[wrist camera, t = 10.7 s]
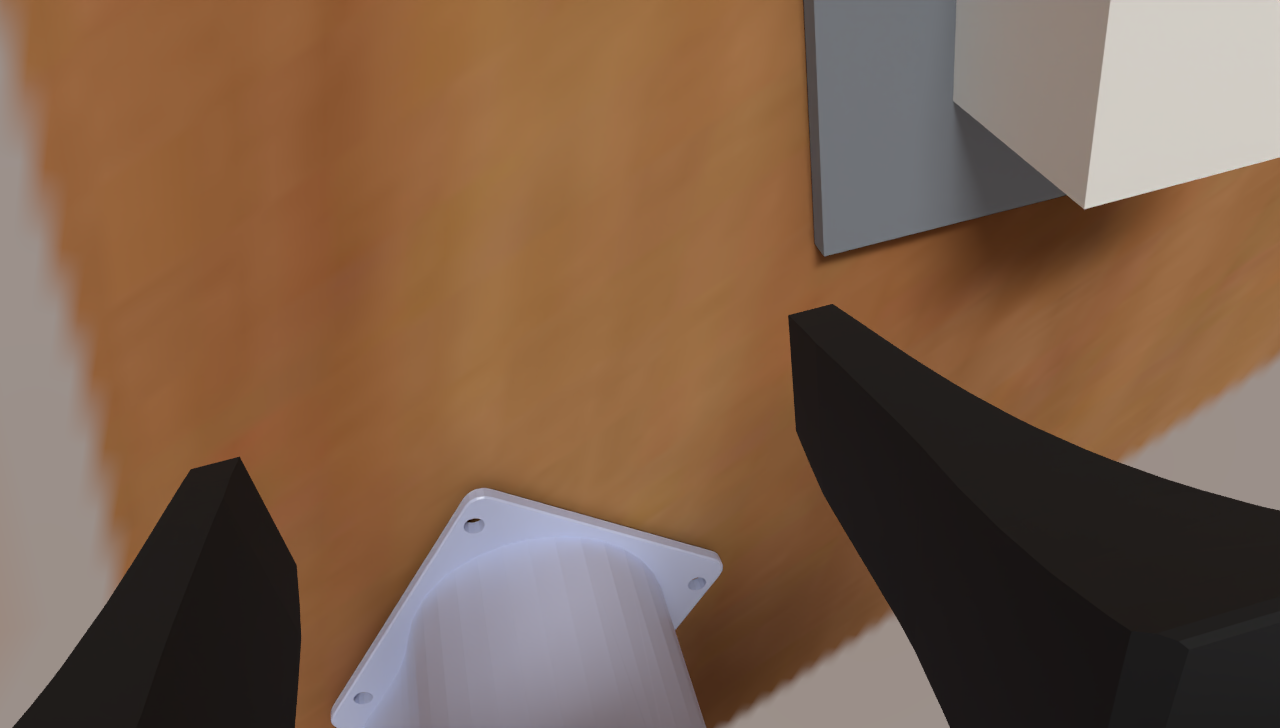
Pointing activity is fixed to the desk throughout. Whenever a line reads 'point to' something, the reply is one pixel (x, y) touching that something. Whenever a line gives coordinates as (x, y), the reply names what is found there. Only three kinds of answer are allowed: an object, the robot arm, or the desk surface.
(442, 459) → the desk surface
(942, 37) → the mat
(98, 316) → the desk surface
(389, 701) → the robot arm
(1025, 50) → the cube
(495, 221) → the desk surface
